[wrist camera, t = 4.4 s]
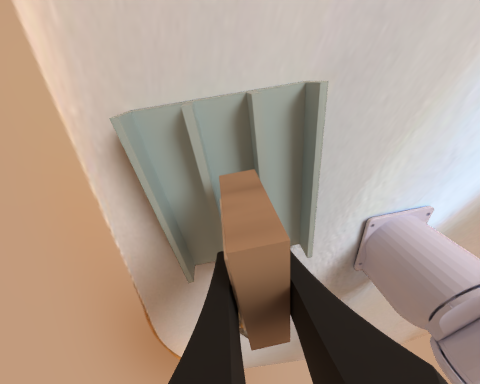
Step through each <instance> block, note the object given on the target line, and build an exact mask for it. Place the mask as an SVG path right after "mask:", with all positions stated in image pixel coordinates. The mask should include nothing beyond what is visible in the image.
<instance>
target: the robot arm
mask: <svg viewBox="0 0 480 384" xmlns="http://www.w3.org/2000/svg"><path fill="white" fill-rule="evenodd" d="M433 210H434V208H433V207H431V206H426V207H421V208H416V209H411V210H406V211H402V212H397V213H392V214H387V215H382V216H377V217H372V218H370V219H368V221H367V224H366V227H365V231H364V234H363V238H362V241H361V245H360V248H359V252H358V255H357V259H356V262H355V266H354V269H355V270H356V271H359V270H363V271H364V272H365V274H366V275H367V276H368V277H369V279H370V280H371V281H372V282H373V284H374V285H375V286H376V287H377V289H378V290H379V291H380V292H381V294H382V295H383V296H384V297H385V299H386V300H387V301H388V302H389V304H390V305H391V306H392V307H393V308H394V310H395V311H396V312H397V313H398V314H399V315H400V316H402V317H403V318H404V319H406V320H407V321H408V322H410V323H412V324H413V325H415V326H417V327H419V328H422V329H425V330H428V332H429V333H430V334H431V335H432V337H431V338H430V343H431V347H432V350H433V353H434V356H435V358H436V360H437V362H438V364H439V366H440V368H441V369H442V371H443V372H444V373H445V375H446V376H447V378H448V379H449V380H450V382H451V383H452V384H480V259H479V258H478V257H476V256H475V255H473V254H472V253H470V252H469V251H467V250H466V249H464V248H463V247H461V246H460V245H458V244H456V243H455V242H453V241H452V240H450V239H449V238H447V237H446V236H444V235H443V234H441V233H440V232H438V231H437V230H435V229H434V228H432V227H431V226H429V225H428V224H427V222H428V220H429V218H430V216H431V214H432V212H433ZM290 315H291V317H292V320H293V322H294V325H295V327H296V330H297V333H298V336H299V339H300V343H301V346H302V349H303V352H304V355H305V359H306V362H307V365H308V368H309V372H310V375H311V378H312V381H313V384H448V383H447V382H446V380H445V379H444V378H443V377H442V376H441V375H440V374H439V373H438V372H437V371H436V369H435V368H434V367H433V366H432V365H430V364H429V363H427V362H426V361H424V360H423V359H421V358H419V357H418V356H416V355H415V354H413V353H412V352H410V351H408V350H407V349H406V348H404V347H403V346H401V345H400V344H398V343H397V342H395V341H394V340H392V339H391V338H390V337H388V336H387V335H385V334H384V333H382V332H381V331H380V330H378V329H377V328H375V327H374V326H373V325H371V324H370V323H369V322H367V321H366V320H365V319H363V318H362V317H361V316H359V315H358V314H357V313H355V312H354V311H353V310H352V309H350V308H349V307H348V306H347V305H346V304H344V303H343V302H342V301H341V300H340V299H338V298H337V297H336V296H335V295H334V294H333V293H331V292H330V291H329V290H328V289H327V288H326V287H325V286H324V285H323V284H322V283H321V282H320V281H318V280H317V279H316V278H315V277H314V276H313V275H312V274H311V273H310V272H309V271H308V269H307V268H306V267H305V266H304V265H303V264H302V263H301V262H300V261H299V260H298V259H297V258H296V256H295V255H294V254H293V253H292V252H291V250H290ZM168 384H246V383H245V375H244V367H243V360H242V352H241V344H240V331H239V312H238V307H237V303H236V300H235V296H234V293H233V289H232V285H231V282H230V278H229V275H228V271H227V267H226V264H225V260H224V251H220V252H218V253H217V258H216V263H215V268H214V272H213V277H212V280H211V284H210V287H209V291H208V294H207V297H206V300H205V302H204V305H203V308H202V311H201V314H200V316H199V319H198V321H197V324H196V326H195V329H194V331H193V333H192V336H191V338H190V340H189V342H188V345H187V347H186V349H185V351H184V353H183V355H182V357H181V359H180V362H179V364H178V365H177V367H176V369H175V371H174V373H173V375H172V377H171V379H170V381H169V383H168Z"/></svg>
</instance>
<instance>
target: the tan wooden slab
mask: <svg viewBox="0 0 480 384" xmlns="http://www.w3.org/2000/svg"><path fill="white" fill-rule="evenodd" d="M219 182H220V193H221V199H220V210H221V223H222V236H223V249H224V260H225V264H226V267H227V271H228V275H229V278H230V282H231V285H232V289H233V293H234V296H235V300H236V303H237V307H238V310H239V314H240V318H241V321H242V325H243V328H244V331H245V330H246V331H247V335H248V339H249V342H250V346H251V350H256V349H260V348H265V347H269V346H273V345H278V344H282V343H287V342H290V239H289V237H288V235H287V233H286V231H285V229H284V227H283V225H282V223H281V221H280V219H279V217H278V215H277V213H276V211H275V209H274V207H273V205H272V203H271V201H270V199H269V197H268V195H267V193H266V191H265V189H264V187H263V185H262V183H261V181H260V179H259V177H258V175H257V173H256V171H255V169H252V170H247V171H242V172H236V173H231V174H226V175H220V176H219Z"/></svg>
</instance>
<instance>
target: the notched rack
mask: <svg viewBox="0 0 480 384" xmlns="http://www.w3.org/2000/svg"><path fill="white" fill-rule="evenodd" d="M327 91H328V81H304V82H298V83H292V84H286V85H280V86H274V87H268V88H262V89H257V90H251V91H245V92H239V93H233V94H227V95H221V96H215V97H209V98H203V99H197V100H192V101H186V102H180V103H174V104H168V105H162V106H156V107H150V108H144V109H138V110H132V111H128V112H125V113H123V114H120V115H117V116H115V117H112V118H109V119H110V121H111V123H112V125H113V127H114V129H115V131H116V133H117V135H118V137H119V139H120V141H121V143H122V146H123V148H124V150H125V152H126V154H127V156H128V158H129V160H130V162H131V164H132V166H133V168H134V170H135V173H136V175H137V177H138V179H139V181H140V183H141V185H142V187H143V189H144V191H145V193H146V195H147V198H148V200H149V202H150V204H151V206H152V208H153V210H154V212H155V214H156V216H157V218H158V220H159V222H160V225H161V227H162V229H163V231H164V233H165V235H166V237H167V239H168V241H169V243H170V245H171V247H172V249H173V252H174V254H175V256H176V258H177V260H178V262H179V264H180V266H181V268H182V270H183V272H184V274H185V276H186V279H187V281H188V283H191V282H194V270H195V265H199V264H204V263H209V262H214V261H216V258H217V253H218V252H220V251H224V249H223V236H222V223H221V210H220V199H221V193H220V182H219V176H220V175H226V174H231V173H236V172H242V171H247V170H252V169H255V171H256V173H257V175H258V177H259V179H260V181H261V183H262V185H263V187H264V189H265V191H266V193H267V195H268V197H269V199H270V201H271V203H272V205H273V207H274V209H275V211H276V213H277V215H278V217H279V219H280V221H281V223H282V225H283V227H284V229H285V231H286V233H287V235H288V237H289V239H290V246H291V245H296V244H300V246H301V247H302V249H303V251H304V253H305V255H306V257H307V258H310V257H312V251H313V240H314V230H315V219H316V208H317V198H318V187H319V176H320V166H321V155H322V144H323V134H324V123H325V112H326V102H327Z"/></svg>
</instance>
